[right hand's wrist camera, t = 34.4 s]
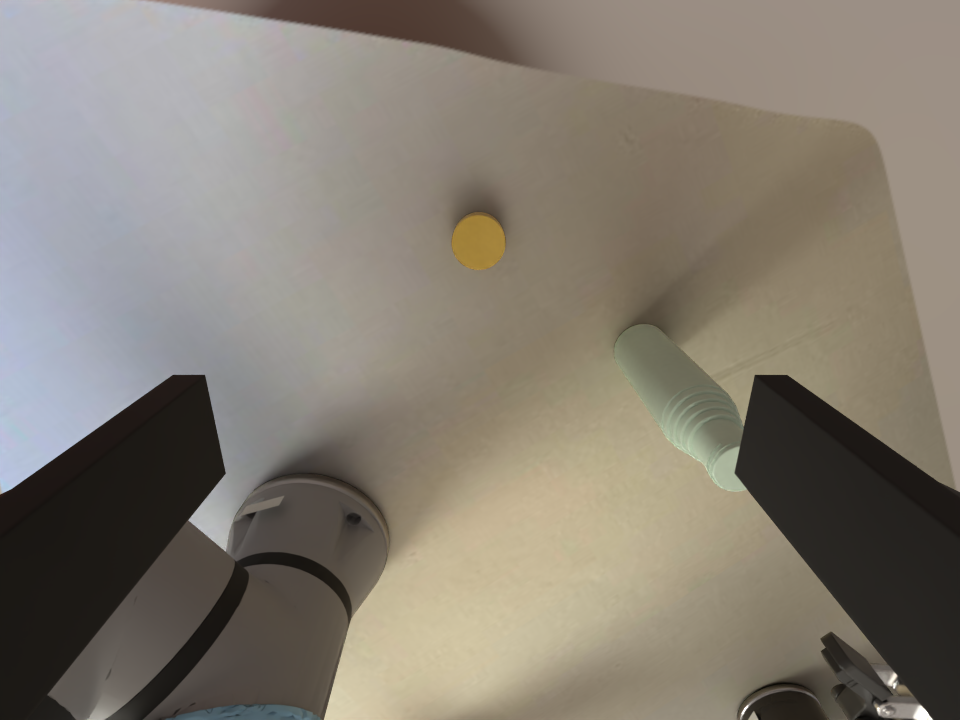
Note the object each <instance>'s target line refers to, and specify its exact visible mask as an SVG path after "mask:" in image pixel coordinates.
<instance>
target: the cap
mask: <svg viewBox="0 0 960 720" xmlns="http://www.w3.org/2000/svg"><path fill="white" fill-rule="evenodd" d="M505 245H506V240H505V235H504V232H503V229H502V226H501V224H500V223H499V222H498V220H497V219H496V218H494V217H493V216H491V215H490V214H487V213H484V212H474V213H470V214H468V215H466V216H464V217H463V218H462V219H461V220H460V221H459V222H458V223H457V225H456V227H455V230H454V233H453V236H452V249H453V252H454V255H455V256H456V258H457V259H458V261H459V262H460V263H461V264H463V265H464V266H466V267H468V268H470V269H475V270H483V269H487V268H490V267H492V266H493V265H495V264H496V263H497V262H498V261H499V260H500V259H501V257H502V255H503V253H504V250H505Z"/></svg>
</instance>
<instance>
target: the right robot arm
mask: <svg viewBox="0 0 960 720" xmlns="http://www.w3.org/2000/svg"><path fill="white" fill-rule="evenodd" d="M225 474H226V472H225V468H224V463H223V458H222V453H221V449H220V444H219V439H218V434H217V430H216V425H215V420H214V415H213V411H212V406H211V401H210V396H209V392H208V387H207V382H206V377H205V375H172V376H171V377H169V378H168V379H167V380H165V381H164V382H162V383H161V384H160V385H158V386H157V387H155V388H154V389H152V390H151V391H150V392H148V393H147V394H145V395H144V396H143V397H141V398H140V399H138V400H137V401H136V402H134V403H133V404H131V405H130V406H128V407H127V408H126V409H124V410H123V411H121V412H120V413H119V414H117V415H116V416H114V417H113V418H111V419H110V420H109V421H107V422H106V423H104V424H103V425H102V426H100V427H99V428H97V429H96V430H95V431H93V432H92V433H90V434H89V435H87V436H86V437H85V438H83V439H82V440H80V441H79V442H78V443H76V444H75V445H73V446H72V447H71V448H69V449H68V450H66V451H65V452H63V453H62V454H61V455H59V456H58V457H56V458H55V459H54V460H52V461H51V462H49V463H48V464H46V465H45V466H44V467H42V468H41V469H39V470H38V471H37V472H35V473H34V474H32V475H31V476H30V477H28V478H27V479H25V480H24V481H22V482H21V483H20V484H18V485H17V486H15V487H14V488H13V489H11V490H9V491H7V492H5V493H3V494H0V720H324V717H325V713H326V709H327V705H328V702H329V698H330V694H331V690H332V687H333V683H334V679H335V675H336V672H337V668H338V664H339V661H340V657H341V653H342V650H343V646H344V643H345V639H346V635H347V631H348V627H349V624H350V621H351V618H352V616H353V615H354V614H355V612H356V611H357V609H358V608H359V607H360V605H361V604H362V603H363V601H364V600H365V599H366V597H367V596H368V594H369V593H370V592H371V590H372V589H373V588H374V586H375V585H376V583H377V582H378V580H379V578H380V576H381V574H382V572H383V570H384V567H385V564H386V560H387V555H388V551H389V533H388V529H387V525H386V523H385V520H384V518H383V516H382V515H381V513H380V511H379V510H378V508H377V507H376V506H375V505H374V504H373V502H372V501H371V500H370V499H369V498H368V497H366V496H365V495H364V494H363V493H361V492H360V491H359V490H357V489H356V488H354V487H352V486H350V485H349V484H347V483H344V482H342V481H340V480H337V479H334V478H331V477H327V476H322V475H316V474H292V475H286V476H282V477H278V478H276V479H273V480H271V481H268V482H266V483H265V484H263V485H261V486H260V487H258V488H257V489H256V490H254V491H253V492H252V493H251V494H250V495H249V496H248V498H247V499H246V500H245V502H244V503H243V505H242V506H241V508H240V509H239V511H238V512H237V514H236V516H235V518H234V520H233V523H232V526H231V529H230V532H229V537H228V543H227V549H226V552H225V551H224V550H223V549H222V548H220V547H219V546H218V545H217V544H216V543H214V542H213V541H212V540H211V539H210V538H209V537H207V536H206V535H205V534H204V533H203V532H201V531H200V530H199V529H198V528H197V527H195V526H194V525H193V524H192V523H191V522H189V521H188V520H189V518H190V517H191V516H192V515H193V513H194V512H195V511H196V510H197V508H198V507H199V506H200V505H201V503H202V502H203V501H204V500H205V498H206V497H207V496H208V495H209V494H210V492H211V491H212V490H213V489H214V487H215V486H216V485H217V484H218V482H219V481H220V480H221V479H222V477H223V476H224V475H225ZM734 474H735V475H736V476H737V477H738V479H739V480H740V481H741V482H742V484H743V485H744V486H745V487H746V489H747V490H748V491H749V492H750V494H751V495H752V496H753V497H754V498H755V500H756V501H757V502H758V503H759V505H760V506H761V507H762V508H763V510H764V511H765V512H766V513H767V515H768V516H769V517H770V518H771V520H772V521H773V522H774V523H775V525H776V526H777V527H778V528H779V530H780V531H781V532H782V533H783V534H784V536H785V537H786V538H787V539H788V541H789V542H790V543H791V544H792V546H793V547H794V548H795V549H796V551H797V552H798V553H799V554H800V556H801V557H802V558H803V559H804V561H805V562H806V563H807V564H808V566H809V567H810V568H811V569H812V570H813V572H814V573H815V574H816V575H817V577H818V578H819V579H820V580H821V582H822V583H823V584H824V585H825V587H826V588H827V589H828V590H829V592H830V593H831V594H832V595H833V597H834V598H835V599H836V600H837V602H838V603H839V604H840V605H841V606H842V608H843V609H844V610H845V611H846V613H847V614H848V615H849V616H850V618H851V619H852V620H853V621H854V623H855V624H856V625H857V626H858V628H859V629H860V630H861V631H862V633H863V634H864V635H865V636H866V638H867V639H868V640H869V641H870V642H871V644H872V645H873V646H874V647H875V649H876V650H877V651H878V652H879V654H880V655H881V656H882V657H883V659H884V660H885V661H886V662H887V664H888V665H889V666H890V667H891V669H892V670H893V671H894V672H895V674H896V675H897V676H898V677H899V678H900V680H901V681H902V682H903V683H904V685H905V686H906V687H907V688H908V690H909V691H910V692H911V693H912V695H913V696H914V697H915V698H916V700H917V701H918V702H919V703H920V705H921V706H922V707H923V708H924V710H925V711H926V712H927V713H928V714H929V716H930V717H931V718H932V719H933V720H960V492H958V491H956V490H954V489H952V488H950V487H948V486H946V485H943V484H941V483H939V482H938V481H936V480H935V479H933V478H932V477H930V476H929V475H928V474H926V473H925V472H923V471H922V470H921V469H919V468H918V467H916V466H915V465H914V464H912V463H911V462H909V461H908V460H906V459H905V458H904V457H902V456H901V455H899V454H898V453H897V452H895V451H894V450H892V449H891V448H889V447H888V446H887V445H885V444H884V443H882V442H881V441H880V440H878V439H877V438H875V437H874V436H873V435H871V434H870V433H868V432H867V431H865V430H864V429H863V428H861V427H860V426H858V425H857V424H856V423H854V422H853V421H851V420H850V419H849V418H847V417H846V416H844V415H843V414H841V413H840V412H839V411H837V410H836V409H834V408H833V407H832V406H830V405H829V404H827V403H826V402H824V401H823V400H822V399H820V398H819V397H817V396H816V395H815V394H813V393H812V392H810V391H809V390H808V389H806V388H805V387H803V386H802V385H800V384H799V383H798V382H796V381H795V380H793V379H792V378H791V377H789V376H788V375H755V377H754V382H753V387H752V392H751V396H750V401H749V406H748V411H747V415H746V420H745V425H744V430H743V434H742V439H741V444H740V449H739V453H738V458H737V463H736V468H735V472H734Z"/></svg>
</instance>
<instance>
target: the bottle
mask: <svg viewBox="0 0 960 720" xmlns="http://www.w3.org/2000/svg"><path fill="white" fill-rule="evenodd" d="M614 357H615V361H616V363H617V364H618V366H619V367H620V369H621V370H622V372H623V373H624V375H625V376H626V378H627V379H628V381H629V382H630V384H631V385H632V387H633V388H634V390H635V391H636V393H637V394H638V396H639V397H640V399H641V400H642V402H643V403H644V405H645V406H646V408H647V409H648V411H649V412H650V414H651V415H652V417H653V418H654V420H655V421H656V423H657V424H658V426H659V427H660V429H661V430H662V432H663V433H664V435H665V436H666V438H667V439H668V440H669V441H670V442H671V443H672V444H673V445H674V446H675V447H677V448H678V449H680V450H682V451H683V452H685V453H686V454H688V455H690V456H691V457H693V458H695V459H696V460H698V461H699V462H702V463H703V465H704V466H705V468H706V469H707V472H708V474H709V476H710V477H711V479H712V480H713V482H714V483H715V484H716V485H717V486H719V487H720V488H722V489H724V490H728V491H732V492H734V491H743V490H747V489H746V487H745V486H744V485H743V484H742V482H741V481H740V480H739V479H738V477H737V476H736V475H735V474H734V472H735V468H736V463H737V458H738V453H739V449H740V444H741V439H742V434H743V430H744V427H743V425H742V421H741V419H740V415H739V413H738V410H737V407H736V405H735V403H734V402H733V401H732V399H731V397H730V396H729V395H728V394H727V393H726V392H725V391H724V390H723V389H722V388H721V387H720V386H719V385H718V384H717V383H716V382H715V381H714V380H713V379H712V378H711V377H710V376H709V375H708V374H706V373H705V372H704V371H703V370H702V369H701V368H700V367H699V366H698V365H697V364H696V363H695V362H694V361H693V360H692V359H691V358H690V357H689V356H688V355H687V354H686V353H684V352H683V351H682V350H681V349H680V348H679V347H678V346H677V345H676V344H675V343H674V342H673V341H672V340H671V339H670V338H669V337H668V336H667V335H666V334H665V333H663V332H662V331H661V330H660V329H659V328H657V327H655V326H653V325H650V324H638V325H635V326H632V327H630V328H628V329H627V330H625V331H624V332H623V333H622V334H621V335H620V336H619V338H618V339H617V341H616V343H615V347H614Z"/></svg>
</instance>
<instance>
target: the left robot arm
mask: <svg viewBox="0 0 960 720" xmlns="http://www.w3.org/2000/svg"><path fill="white" fill-rule="evenodd" d="M821 641H822V642H823V644H824V645H825V647H826V648H825V649H823V650H822V651H821V653H822V655H823V657H824V659H825V660H826V662H827V663H828V665H829V666H830V668H831V669H832V671H833V672H834V674H835V675H836V677H837V678H838V680H839V681H841V682H842V683H843V684H839V685H836V686H834V687H833V688H832V690H831V695H832V696H833V698H834V699H835V701H836V702H837V703H838V704H839V706H840V707H841V709H842V710H843V712H844V713H845V715H846V716H847V718H848V720H933V719H932V718H931V717H930V716H929V714H928V713H927V712H926V711H925V710H924V708H923V707H922V706H921V705H920V703H919V702H918V701H917V700H916V698H915V697H914V696H913V695H912V693H911V692H910V691H909V690H908V688H907V687H906V686H905V685H904V683H903V682H902V681H901V680H900V678H899V677H898V676H897V675H896V674H895V672H894V671H893V670H892V669H891V667H890V666H889V665H888V664H871V663H869V662H868V661H867V660H866V658H864V657H863V656H862V655H861V654H859V653H858V652H857V651H855V650H854V649H853V648H852V647H850V646H849V645H848V644H846V643H845V642H844V641H843V640H841V639H840V638H839V637H837V636H836V635H835V634H834V633H832V632H830V633H828V634H827V635H825V636H824V637H822V638H821ZM886 685H887V686H890V687H892V688H894V689H895V690H896V692H897V693H898V694H899V696H894V695H893V694H892V693H891V691H890V690H889V689H888V687H887V686H886ZM738 720H829V719H828V717H827V715H826V714H825V712H824V710H823V709H822V706H821V704H820V702H819V701H818V699H817V698H816V696H815V695H814V693H812V692H811V691H810V690H808V689H807V688H805V687H802V686H799V685H793V684H779V685H773V686H769V687H766V688H763V689H761V690H759V691H757V692H755V693H753V694H752V695H751V696H749V697H748V698H747V699H746V700H745V701H744V702H743V703H742V705H741V707H740V708H739V711H738Z"/></svg>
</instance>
